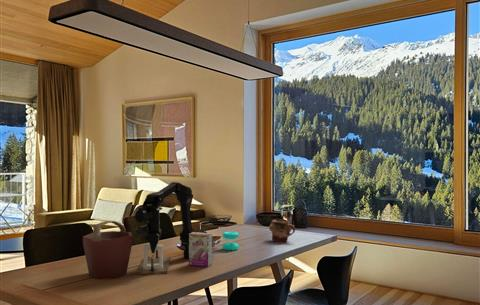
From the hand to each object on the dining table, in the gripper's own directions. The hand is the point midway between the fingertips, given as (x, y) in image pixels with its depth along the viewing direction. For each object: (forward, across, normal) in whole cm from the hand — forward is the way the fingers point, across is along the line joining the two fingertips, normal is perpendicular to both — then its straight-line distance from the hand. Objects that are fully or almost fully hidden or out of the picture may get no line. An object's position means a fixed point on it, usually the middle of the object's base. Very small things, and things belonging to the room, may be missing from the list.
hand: (153, 251), depth 215 cm
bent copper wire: (+8, -8, 0) cm, 11 cm away
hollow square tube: (+8, 0, 0) cm, 8 cm away
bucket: (+9, +5, -21) cm, 24 cm away
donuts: (+10, -46, +42) cm, 63 cm away
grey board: (+9, -9, 0) cm, 13 cm away
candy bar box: (+10, -8, +23) cm, 26 cm away
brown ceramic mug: (+10, -67, +78) cm, 103 cm away
